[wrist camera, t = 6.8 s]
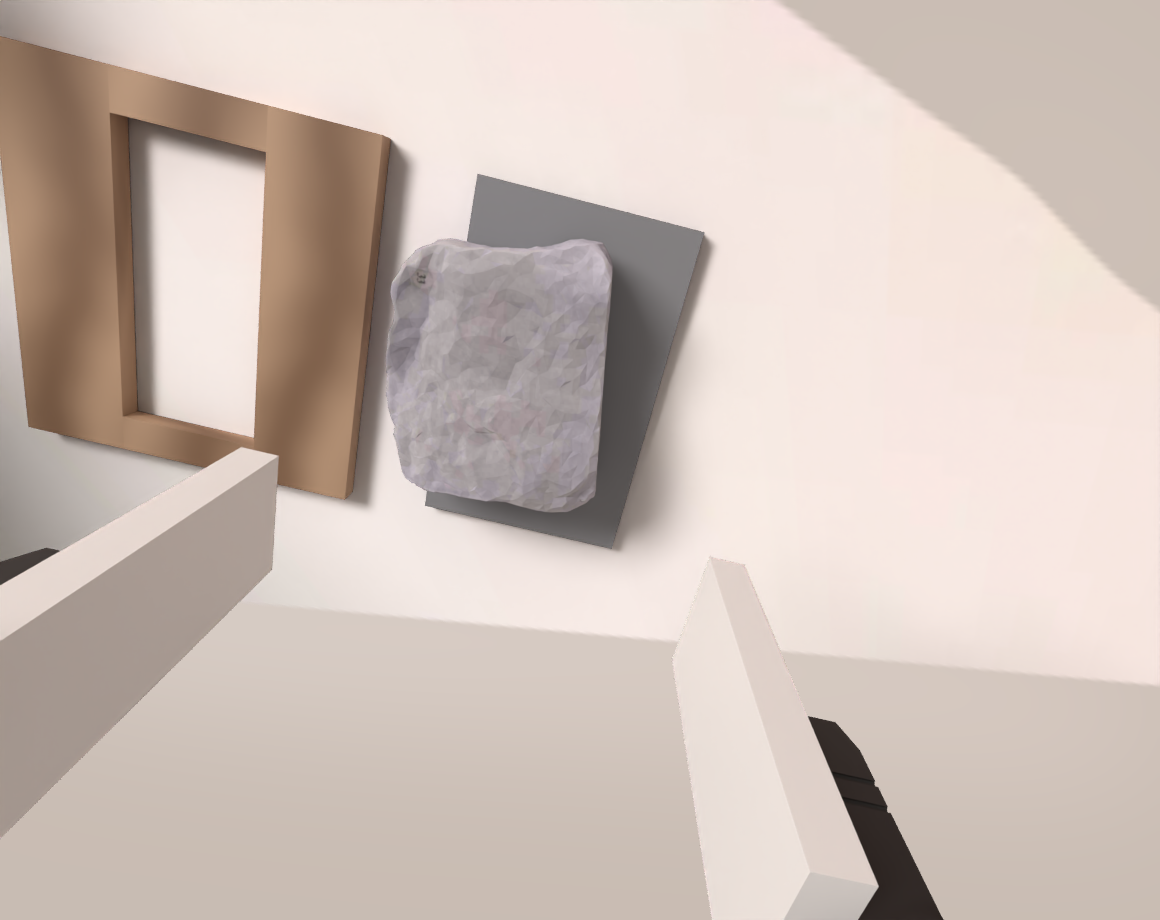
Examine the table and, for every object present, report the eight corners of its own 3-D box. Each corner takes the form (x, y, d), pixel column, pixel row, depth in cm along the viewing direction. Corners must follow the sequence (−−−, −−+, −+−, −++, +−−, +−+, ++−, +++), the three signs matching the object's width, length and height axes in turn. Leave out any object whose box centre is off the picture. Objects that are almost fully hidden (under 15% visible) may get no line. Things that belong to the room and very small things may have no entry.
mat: (428, 500, 31) (425, 505, 31) (480, 175, 26) (477, 173, 25) (611, 543, 32) (611, 548, 31) (702, 232, 26) (704, 232, 26)
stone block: (429, 468, 32) (611, 493, 30) (379, 501, 27) (590, 533, 25) (421, 232, 28) (629, 241, 26) (362, 225, 24) (608, 236, 22)
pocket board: (46, 420, 31) (28, 426, 30) (11, 40, 25) (-13, 32, 24) (352, 491, 31) (344, 499, 30) (390, 138, 25) (382, 135, 24)
